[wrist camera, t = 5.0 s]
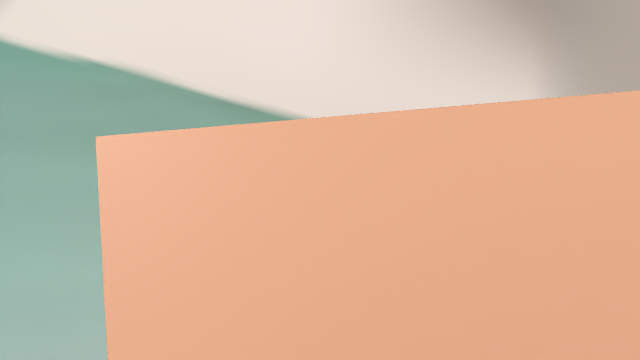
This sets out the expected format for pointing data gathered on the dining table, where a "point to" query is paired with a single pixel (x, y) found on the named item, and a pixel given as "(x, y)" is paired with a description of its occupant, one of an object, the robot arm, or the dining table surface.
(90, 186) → the dining table surface
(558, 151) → the peach block
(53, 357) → the dining table surface
